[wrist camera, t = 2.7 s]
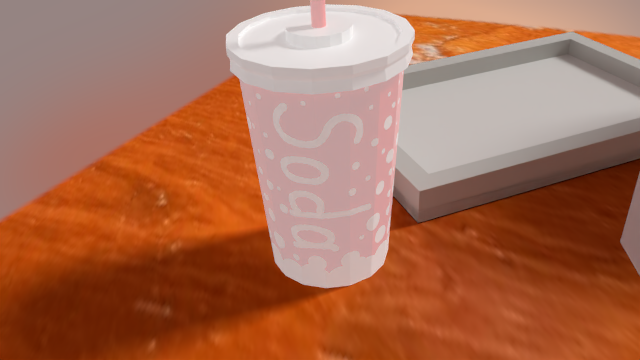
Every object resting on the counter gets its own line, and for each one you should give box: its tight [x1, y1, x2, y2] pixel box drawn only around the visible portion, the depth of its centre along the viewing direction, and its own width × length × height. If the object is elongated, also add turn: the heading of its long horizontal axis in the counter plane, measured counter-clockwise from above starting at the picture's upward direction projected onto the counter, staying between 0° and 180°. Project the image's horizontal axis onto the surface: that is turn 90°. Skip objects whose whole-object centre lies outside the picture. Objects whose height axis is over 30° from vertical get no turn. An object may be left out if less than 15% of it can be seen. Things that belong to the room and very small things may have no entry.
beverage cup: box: [226, 0, 415, 288], centre depth 21 cm, size 6×6×14 cm
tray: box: [393, 32, 640, 223], centre depth 33 cm, size 18×12×2 cm, turn 112°
